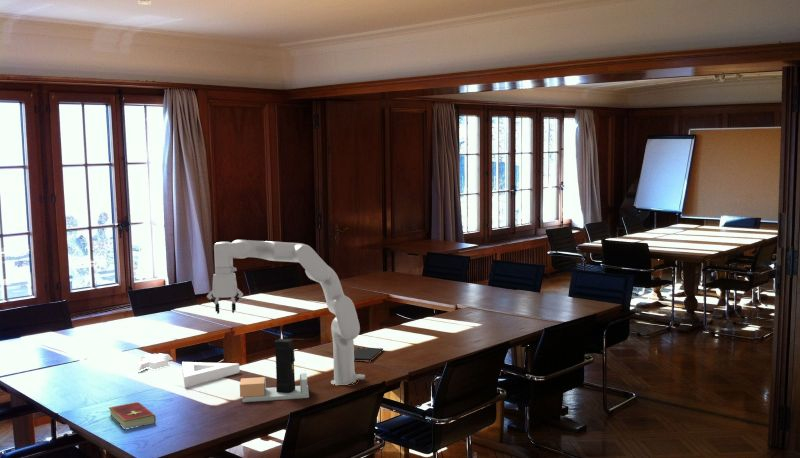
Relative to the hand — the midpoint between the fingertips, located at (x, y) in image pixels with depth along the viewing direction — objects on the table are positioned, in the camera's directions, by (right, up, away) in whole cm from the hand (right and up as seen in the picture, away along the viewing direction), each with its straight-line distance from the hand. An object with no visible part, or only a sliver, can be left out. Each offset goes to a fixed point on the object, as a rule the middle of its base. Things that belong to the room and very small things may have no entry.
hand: (225, 312), depth 314 cm
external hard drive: (+56, -32, +68) cm, 94 cm away
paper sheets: (-50, -36, +59) cm, 85 cm away
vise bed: (+21, -37, +6) cm, 43 cm away
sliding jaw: (+11, -35, +4) cm, 37 cm away
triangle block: (-15, -36, +36) cm, 53 cm away
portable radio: (+25, -35, +6) cm, 44 cm away
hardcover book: (-32, -41, -22) cm, 56 cm away
